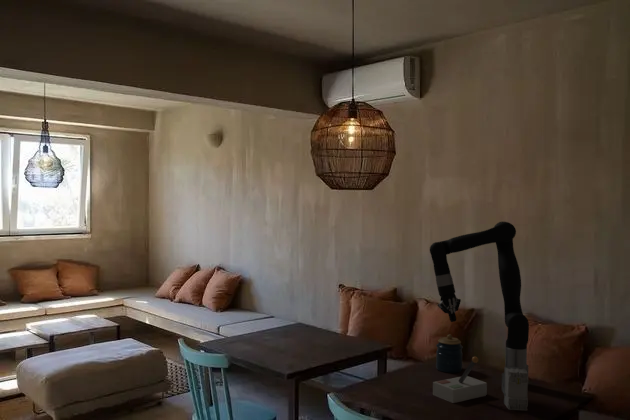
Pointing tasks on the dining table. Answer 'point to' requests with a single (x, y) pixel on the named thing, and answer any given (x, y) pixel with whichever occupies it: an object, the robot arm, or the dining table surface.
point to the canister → (449, 354)
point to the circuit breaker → (515, 388)
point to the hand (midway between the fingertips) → (453, 321)
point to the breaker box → (459, 389)
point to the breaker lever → (468, 369)
